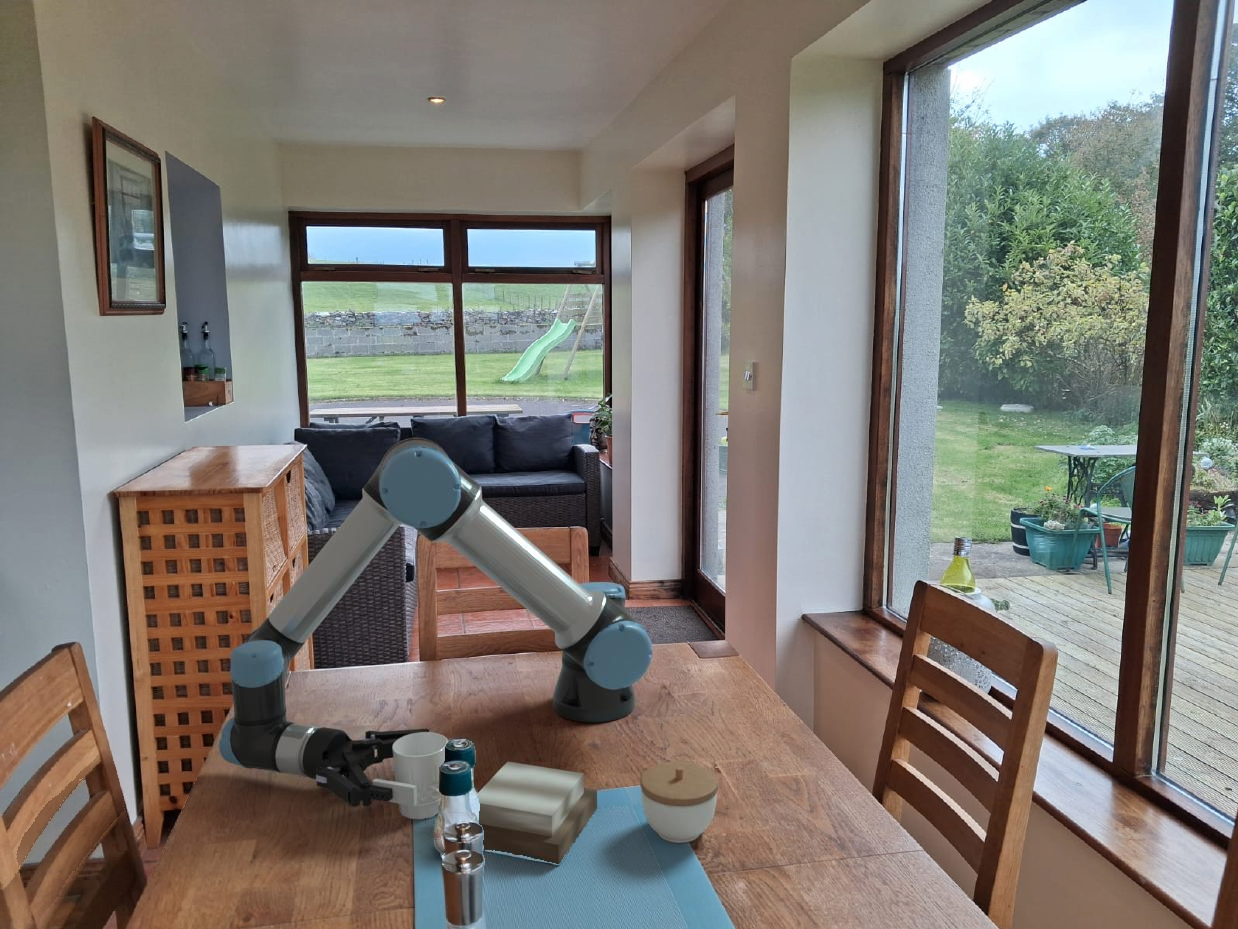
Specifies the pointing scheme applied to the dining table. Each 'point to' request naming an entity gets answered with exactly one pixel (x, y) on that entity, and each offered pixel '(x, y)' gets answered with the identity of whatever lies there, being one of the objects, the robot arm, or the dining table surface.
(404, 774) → the white cup
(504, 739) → the dining table surface
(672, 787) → the lidded jar
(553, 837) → the block stand
